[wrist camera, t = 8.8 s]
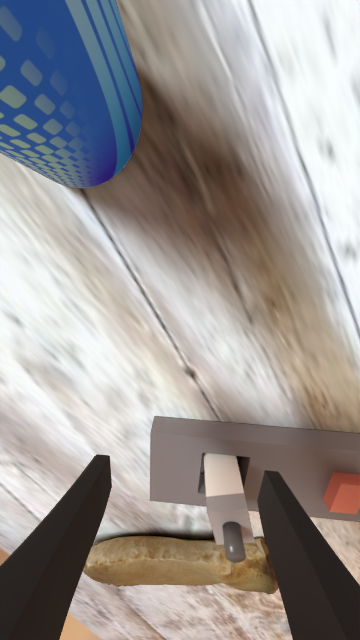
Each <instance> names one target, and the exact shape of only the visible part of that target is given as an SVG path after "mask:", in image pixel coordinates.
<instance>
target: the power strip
mask: <svg viewBox="0 0 360 640" xmlns="http://www.w3.org/2000/svg"><path fill="white" fill-rule="evenodd" d="M202 453H211V454H221V455H232V456H242V457H241V462H240V468H239V472H240V476H241V481H242V485H243V490H244V494H245V499H246V503H247V508H248V511H256V512H259V508H258V503H257V499H258V495H259V491H260V487H261V483H262V479H263V475H264V471H265V470H268V471H278V472H279V473H280V474H281V476H282V477H283V479H284V480H285V482H286V483H287V485H288V486H289V488H290V489H291V491H292V492H293V494H294V495H295V497H296V498H297V500H298V501H299V503H300V504H301V506H302V507H303V509H304V510H305V512H306V513H307V515H308V516H309V517H316V518H326V519H336V520H345V521H355V522H360V434H358V433H346V432H334V431H323V430H311V429H299V428H288V427H276V426H264V425H252V424H241V423H229V422H217V421H206V420H194V419H182V418H170V417H159V416H154V420H153V425H152V429H151V443H150V501H158V502H167V503H177V504H187V505H197V506H207V503H206V486H205V474H203V473H200V468H201V459H202Z"/></svg>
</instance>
